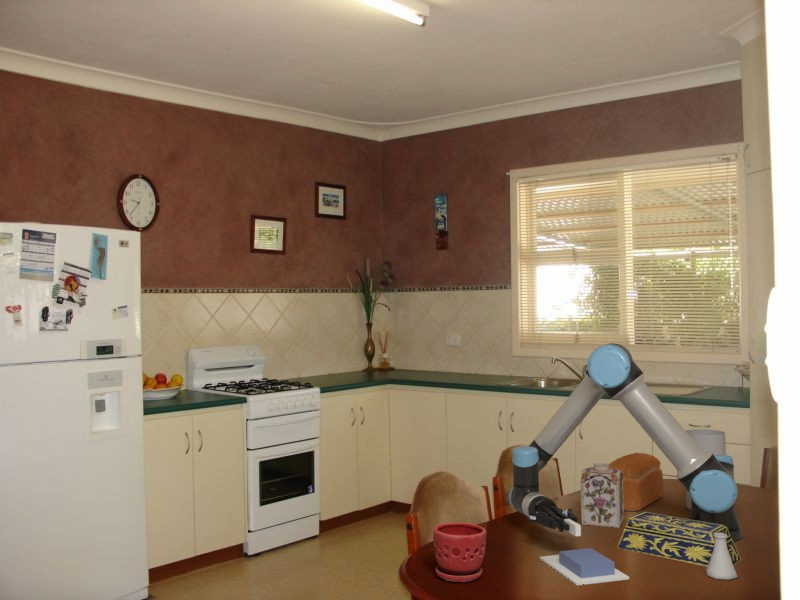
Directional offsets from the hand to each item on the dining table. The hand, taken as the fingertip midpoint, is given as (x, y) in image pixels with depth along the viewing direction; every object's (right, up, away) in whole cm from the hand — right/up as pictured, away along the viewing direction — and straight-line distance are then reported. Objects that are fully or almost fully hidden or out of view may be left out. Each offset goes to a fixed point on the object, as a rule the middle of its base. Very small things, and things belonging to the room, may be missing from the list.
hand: (578, 530), depth 197 cm
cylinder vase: (+54, -10, +55) cm, 78 cm away
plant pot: (-30, -10, -4) cm, 32 cm away
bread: (+34, -10, +67) cm, 76 cm away
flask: (+33, -9, -8) cm, 35 cm away
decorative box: (+29, -10, +10) cm, 32 cm away
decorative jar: (+18, -10, +43) cm, 47 cm away
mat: (+1, -10, 0) cm, 10 cm away
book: (0, -7, +4) cm, 8 cm away
